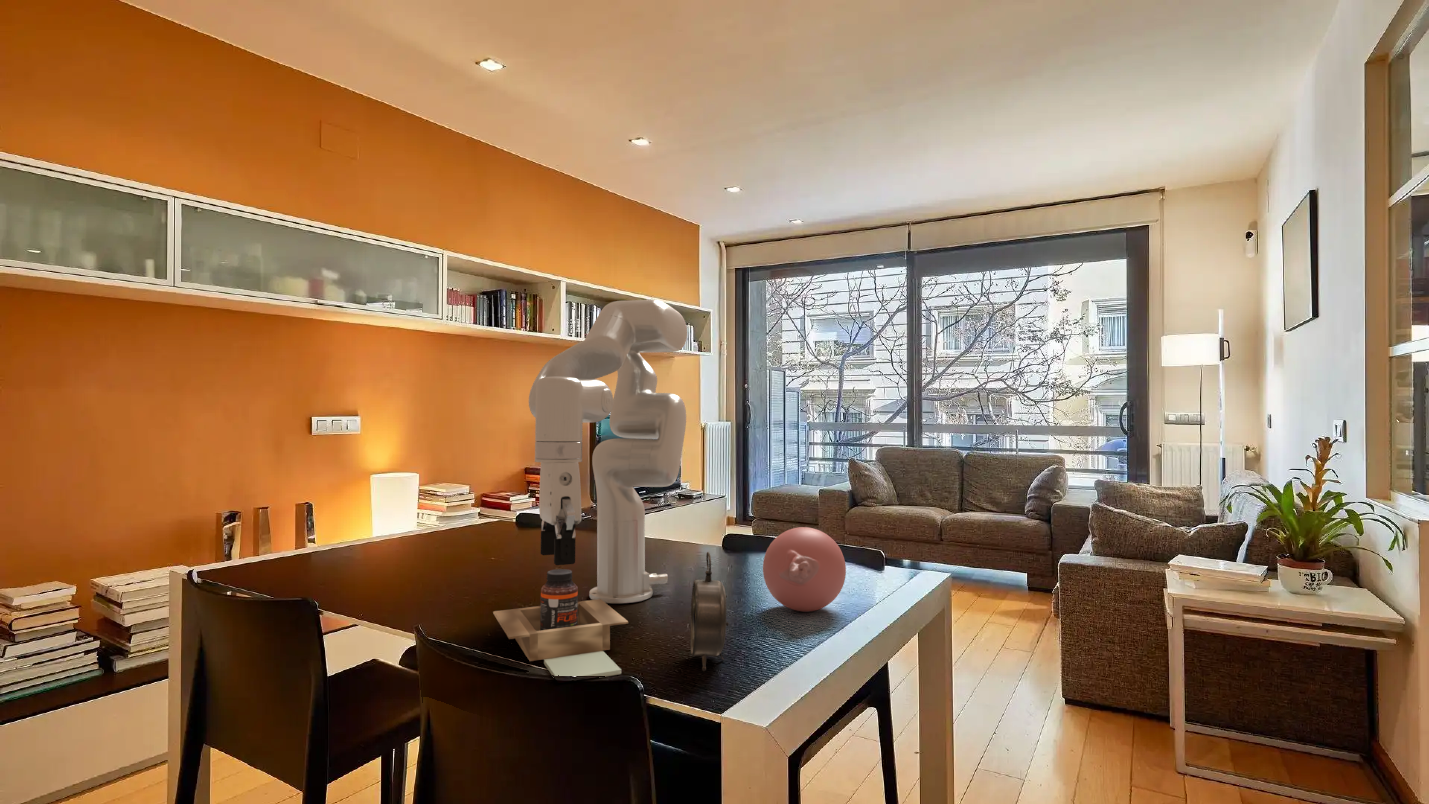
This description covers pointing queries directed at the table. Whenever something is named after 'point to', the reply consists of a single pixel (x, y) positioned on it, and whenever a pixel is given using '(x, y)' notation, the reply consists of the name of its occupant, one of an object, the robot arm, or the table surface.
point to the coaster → (583, 665)
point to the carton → (561, 630)
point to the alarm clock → (708, 617)
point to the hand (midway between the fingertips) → (557, 559)
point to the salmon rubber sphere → (804, 569)
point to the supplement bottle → (559, 601)
